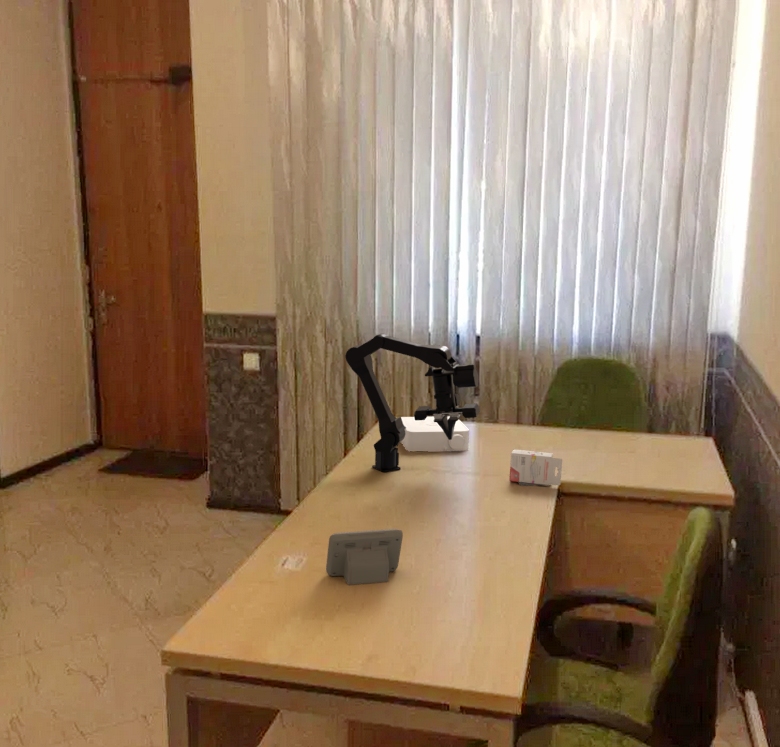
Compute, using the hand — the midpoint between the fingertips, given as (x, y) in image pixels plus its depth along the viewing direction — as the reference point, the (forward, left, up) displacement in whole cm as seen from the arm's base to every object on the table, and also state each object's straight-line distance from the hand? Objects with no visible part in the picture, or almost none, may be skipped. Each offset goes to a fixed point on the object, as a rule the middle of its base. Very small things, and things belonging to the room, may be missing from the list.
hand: (450, 439), depth 262 cm
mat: (+17, -16, -11) cm, 26 cm away
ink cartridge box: (+11, -14, -6) cm, 19 cm away
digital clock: (-63, -49, -11) cm, 80 cm away
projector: (+17, +30, -11) cm, 37 cm away
